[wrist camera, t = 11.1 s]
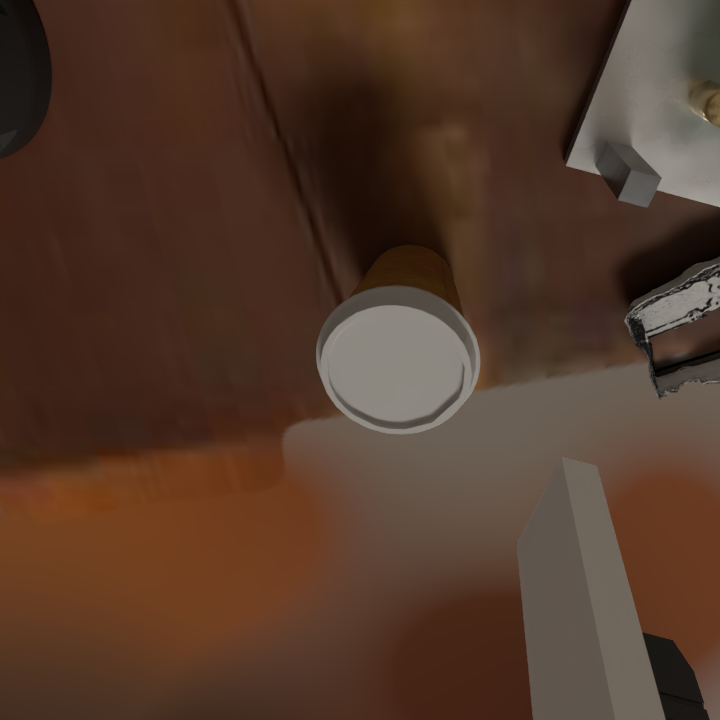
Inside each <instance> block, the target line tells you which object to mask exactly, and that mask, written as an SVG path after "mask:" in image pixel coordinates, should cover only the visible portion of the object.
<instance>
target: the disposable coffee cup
mask: <svg viewBox="0 0 720 720" xmlns="http://www.w3.org/2000/svg"><path fill="white" fill-rule="evenodd" d="M316 358H317V367H318V370H319V373H320V377H321V379H322V381H323V384H324V387H325V389H326V392H327V394H328V395H329V397H330V398H331V400H332V401H333V403H334V404H335V405H336V407H337V408H339V409H340V410H341V411H342V412H343V413H344V414H345V415H346V416H347V417H348V418H350V419H351V420H353V421H355V422H357V423H359V424H361V425H363V426H365V427H367V428H368V429H372V430H376V431H380V432H384V433H388V434H411V433H418V432H421V431H424V430H427V429H430V428H432V427H435V426H438V425H440V424H441V423H443V422H444V421H445V420H447V419H449V418H450V417H451V416H452V415H453V414H454V413H455V412H456V411H457V410H458V409H459V408H460V407H461V406H462V404H463V403H464V402H465V401H466V400H467V398H468V397H469V396H470V394H471V393H472V391H473V389H474V387H475V385H476V382H477V380H478V375H479V371H480V352H479V347H478V343H477V339H476V337H475V334H474V332H473V330H472V329H471V327H470V325H469V324H468V322H467V321H466V319H465V318H464V315H463V311H462V308H461V304H460V300H459V296H458V293H457V290H456V286H455V282H454V278H453V274H452V271H451V269H450V267H449V265H448V264H447V263H446V261H445V260H444V259H443V258H442V257H441V256H439V255H438V254H437V253H436V252H434V251H432V250H431V249H428V248H426V247H423V246H418V245H401V246H398V247H394V248H391V249H389V250H387V251H386V252H384V253H383V254H382V255H380V256H379V257H378V258H377V259H376V261H375V262H374V263H373V265H372V266H371V268H370V269H369V270H368V272H367V273H366V275H365V276H364V278H363V279H362V280H361V282H360V283H359V285H358V286H357V288H356V289H355V290H354V292H353V293H352V295H351V296H350V297H349V299H347V300H346V301H344V302H342V303H341V304H340V305H339V306H338V307H337V308H336V309H335V310H334V311H333V312H332V313H331V314H330V316H329V317H328V319H327V320H326V322H325V323H324V325H323V327H322V329H321V332H320V335H319V338H318V341H317V349H316Z"/></svg>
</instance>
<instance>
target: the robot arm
mask: <svg viewBox="0 0 720 720" xmlns="http://www.w3.org/2000/svg"><path fill="white" fill-rule="evenodd" d="M50 94H51V63H50V55H49V50H48V45H47V41H46V38H45V34H44V31H43V28H42V25H41V22H40V20H39V17H38V15H37V13H36V10H35V8H34V6H33V4H32V2H31V0H0V159H2V158H4V157H7V156H9V155H11V154H13V153H15V152H17V151H18V150H20V149H21V148H23V147H24V146H25V145H26V144H27V143H28V142H29V141H30V140H31V139H32V138H33V137H34V135H35V134H36V133H37V131H38V130H39V128H40V126H41V124H42V122H43V120H44V118H45V115H46V112H47V109H48V105H49V101H50ZM517 552H518V562H519V573H520V584H521V594H522V603H523V604H522V605H523V615H524V626H525V637H526V647H527V657H528V669H529V679H530V690H531V700H532V711H533V720H709V717H708V714H707V710H705V709H704V707H703V705H704V701H703V698H702V696H701V692H700V689H699V686H698V683H697V680H696V677H695V674H694V671H693V670H692V668H691V667H690V665H689V664H688V662H687V661H686V659H685V658H684V656H683V655H682V653H681V652H680V650H679V649H678V648H677V646H676V644H675V643H674V642H673V640H669V639H665V638H662V637H658V636H654V635H650V634H646V633H642V631H641V627H640V624H639V620H638V616H637V612H636V609H635V605H634V601H633V598H632V594H631V590H630V587H629V583H628V579H627V575H626V572H625V568H624V564H623V561H622V557H621V553H620V550H619V546H618V542H617V539H616V535H615V531H614V528H613V524H612V520H611V517H610V513H609V510H608V505H607V502H606V498H605V495H604V491H603V487H602V483H601V480H600V476H599V472H598V469H597V466H595V465H591V464H588V463H584V462H580V461H576V460H572V459H568V458H565V457H561V459H560V461H559V463H558V465H557V467H556V468H555V470H554V472H553V474H552V476H551V478H550V480H549V482H548V484H547V486H546V488H545V490H544V492H543V494H542V496H541V498H540V500H539V502H538V503H537V505H536V507H535V509H534V511H533V513H532V515H531V517H530V519H529V521H528V523H527V525H526V527H525V529H524V531H523V533H522V535H521V537H520V539H519V541H518V542H517Z"/></svg>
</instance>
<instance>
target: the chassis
mask: <svg viewBox="0 0 720 720" xmlns="http://www.w3.org/2000/svg"><path fill="white" fill-rule="evenodd" d="M564 163H565V165H566V166H569V167H573V168H576V169H580V170H584V171H588V172H591V173H595V174H599V175H601V176H602V177H603V179H604V180H605V182H606V183H607V184H608V186H609V187H610V189H611V190H612V192H613V193H614V195H615V196H616V198H617V199H618V200H620V201H624V202H628V203H631V204H635V205H639V206H643V207H646V208H648V206H649V204H650V202H651V200H652V198H653V196H654V194H655V192H656V190H658V191H662V192H666V193H670V194H673V195H677V196H681V197H684V198H688V199H692V200H696V201H699V202H703V203H707V204H711V205H714V206H718V207H720V0H627V1H626V3H625V6H624V8H623V11H622V13H621V16H620V19H619V21H618V24H617V26H616V29H615V31H614V34H613V36H612V39H611V41H610V44H609V46H608V49H607V52H606V54H605V57H604V59H603V62H602V64H601V67H600V69H599V72H598V74H597V77H596V79H595V82H594V84H593V87H592V90H591V92H590V95H589V97H588V100H587V102H586V105H585V107H584V110H583V112H582V115H581V117H580V120H579V123H578V125H577V128H576V130H575V133H574V135H573V138H572V140H571V143H570V145H569V148H568V150H567V153H566V155H565V158H564Z"/></svg>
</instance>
